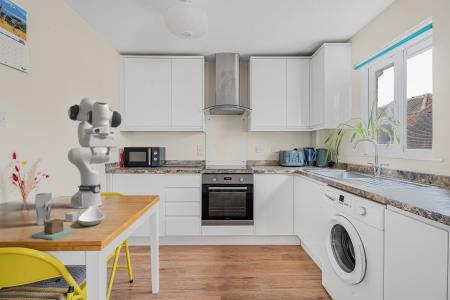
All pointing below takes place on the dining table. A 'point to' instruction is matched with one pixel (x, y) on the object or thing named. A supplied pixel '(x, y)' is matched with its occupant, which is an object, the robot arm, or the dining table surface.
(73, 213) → the grey cube
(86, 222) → the spoon rest
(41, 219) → the beer glass
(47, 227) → the walnut block
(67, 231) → the teal mat
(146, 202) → the dining table surface
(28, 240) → the dining table surface
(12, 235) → the dining table surface
